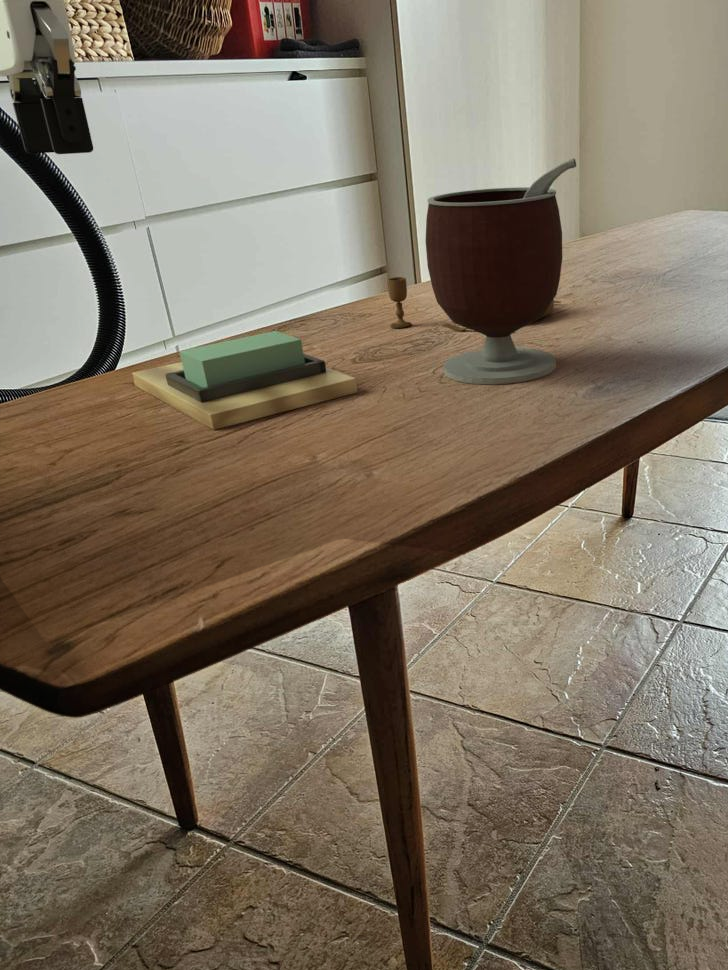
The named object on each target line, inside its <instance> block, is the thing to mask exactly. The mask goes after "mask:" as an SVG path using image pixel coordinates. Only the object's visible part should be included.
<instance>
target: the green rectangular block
mask: <svg viewBox="0 0 728 970" xmlns="http://www.w3.org/2000/svg"><path fill="white" fill-rule="evenodd" d="M304 354H305V353H304V349H303V342H302V339H301V338H299V337H295V336H292V335H289V334H286V333H283V332H280V331H277V330H273V331H268V332H263V333H259V334H254V335H250V336H244V337H240V338H235V339H231V340H225V341H221V342H216V343H212V344H208V345H202V346H197V347H192V348H188V349H183V350H179V356H180V360H181V362H182V365H183V369H184V373H185V378H186V380H188V381H190V382H192V383H194V384H197V385H199V386H201V387H203V388H204V387H208V386H212V385H217V384H221V383H225V382H229V381H234V380H238V379H242V378H246V377H251V376H255V375H259V374H263V373H268V372H272V371H276V370H280V369H285V368H289V367H293V366H297V365H301V364H305V360H304Z"/></svg>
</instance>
